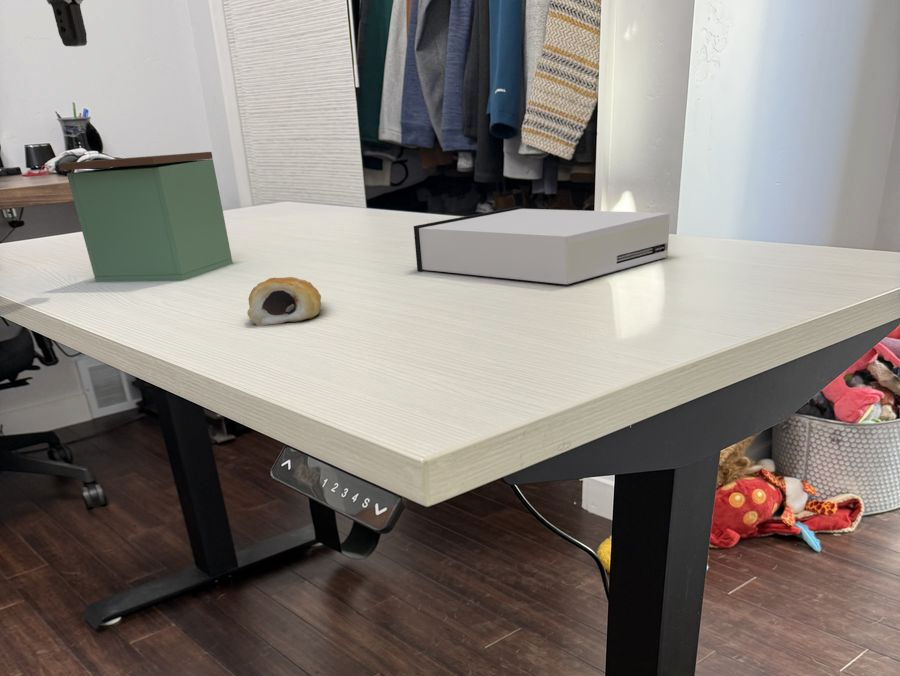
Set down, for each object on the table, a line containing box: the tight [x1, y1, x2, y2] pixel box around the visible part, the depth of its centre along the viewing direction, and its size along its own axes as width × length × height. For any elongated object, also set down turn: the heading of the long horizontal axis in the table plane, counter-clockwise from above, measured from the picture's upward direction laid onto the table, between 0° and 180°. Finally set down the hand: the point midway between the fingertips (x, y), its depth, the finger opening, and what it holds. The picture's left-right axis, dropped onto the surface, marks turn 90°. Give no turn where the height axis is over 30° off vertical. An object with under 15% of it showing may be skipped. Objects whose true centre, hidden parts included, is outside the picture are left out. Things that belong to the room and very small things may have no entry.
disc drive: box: [413, 205, 671, 285], centre depth 96 cm, size 18×22×5 cm
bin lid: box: [59, 151, 214, 172], centre depth 107 cm, size 12×14×1 cm
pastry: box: [247, 276, 322, 326], centre depth 83 cm, size 9×7×4 cm
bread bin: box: [66, 158, 234, 283], centre depth 111 cm, size 12×14×13 cm
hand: (75, 45), depth 96 cm, fingers closed
